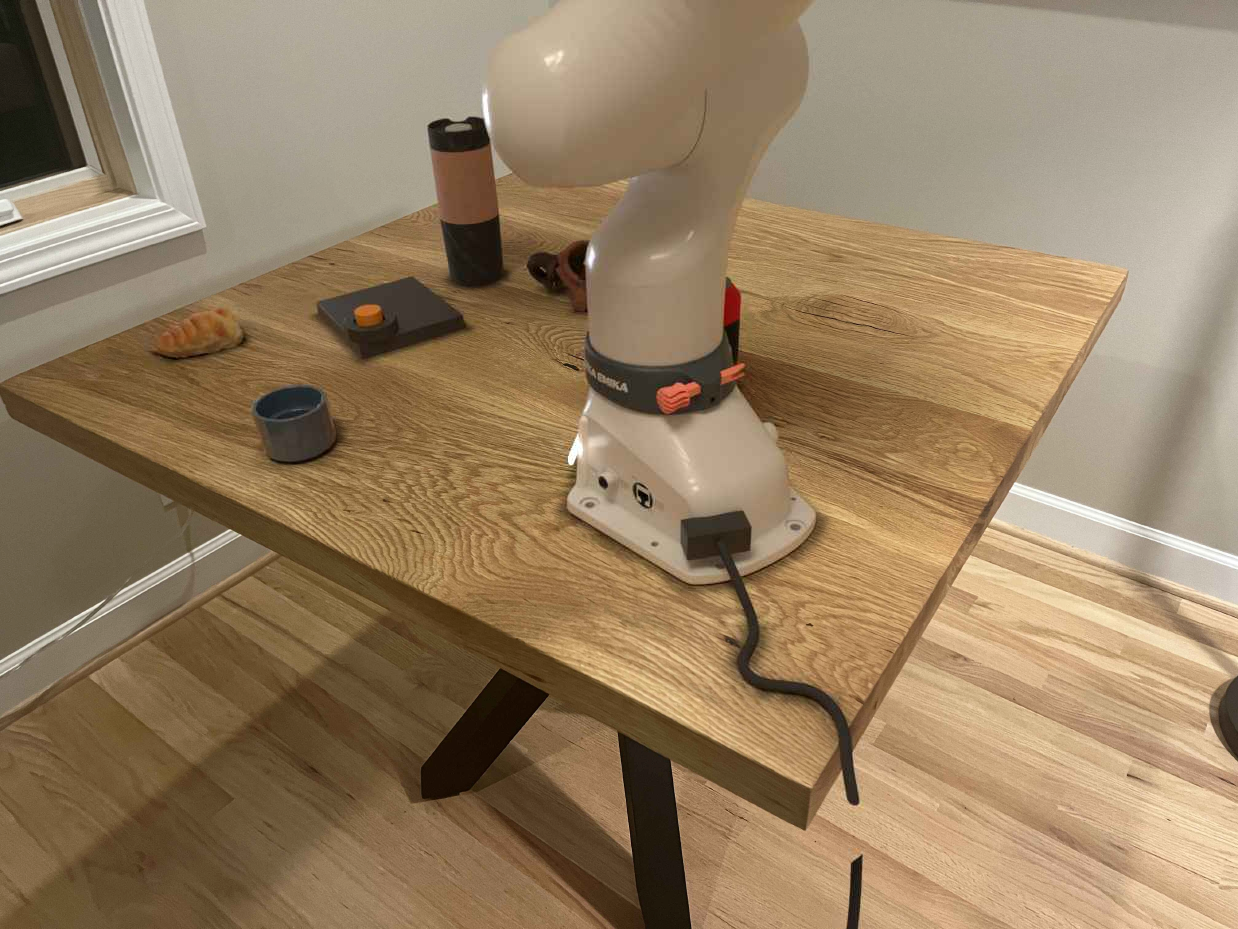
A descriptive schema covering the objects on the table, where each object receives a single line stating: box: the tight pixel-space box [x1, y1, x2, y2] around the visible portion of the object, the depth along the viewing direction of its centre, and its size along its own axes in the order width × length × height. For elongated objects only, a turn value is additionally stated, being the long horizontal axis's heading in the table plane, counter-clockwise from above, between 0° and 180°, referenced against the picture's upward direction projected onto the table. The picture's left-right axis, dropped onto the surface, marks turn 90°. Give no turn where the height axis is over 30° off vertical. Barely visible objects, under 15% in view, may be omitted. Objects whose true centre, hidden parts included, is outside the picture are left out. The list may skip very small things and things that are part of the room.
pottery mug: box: [525, 239, 590, 313], centre depth 114 cm, size 12×10×8 cm
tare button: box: [354, 305, 383, 326], centre depth 104 cm, size 3×3×2 cm
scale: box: [315, 275, 466, 361], centre depth 110 cm, size 16×13×4 cm
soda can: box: [723, 275, 742, 386], centre depth 92 cm, size 8×8×12 cm
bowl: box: [250, 384, 337, 463], centre depth 87 cm, size 7×7×5 cm
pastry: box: [155, 305, 244, 359], centre depth 106 cm, size 9×7×4 cm
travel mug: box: [427, 116, 504, 288], centre depth 116 cm, size 8×8×20 cm
